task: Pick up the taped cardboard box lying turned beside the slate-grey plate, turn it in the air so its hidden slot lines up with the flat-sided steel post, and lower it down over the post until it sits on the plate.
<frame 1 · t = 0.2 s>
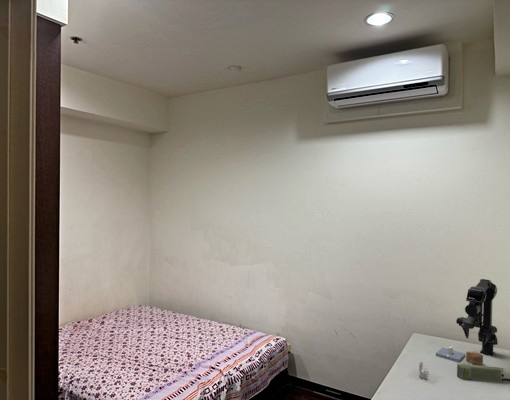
hand: (475, 341, 199), 13 cm above the table, tool pointing down, fingers open, 9 cm apart
taped cardboard box: (474, 362, 205), on the table
handheld radio: (485, 380, 184), on the table
hub plate: (450, 356, 213), on the table
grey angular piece: (431, 377, 187), on the table
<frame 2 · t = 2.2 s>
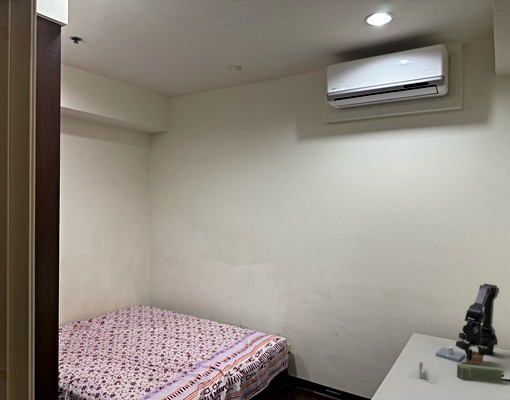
hand: (474, 360, 205), 1 cm above the table, tool pointing down, fingers closed on taped cardboard box, 6 cm apart
taped cardboard box: (474, 362, 205), on the table, touching gripper
everything else where it was.
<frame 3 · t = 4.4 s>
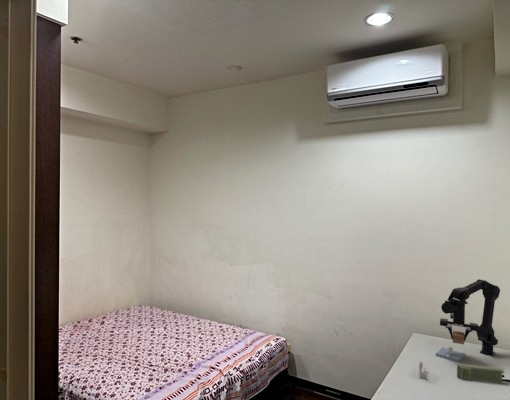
hand: (458, 340, 210), 10 cm above the table, tool pointing down, fingers closed on taped cardboard box, 6 cm apart
taped cardboard box: (458, 341, 210), point 9 cm above the table, touching gripper
everything else where it was.
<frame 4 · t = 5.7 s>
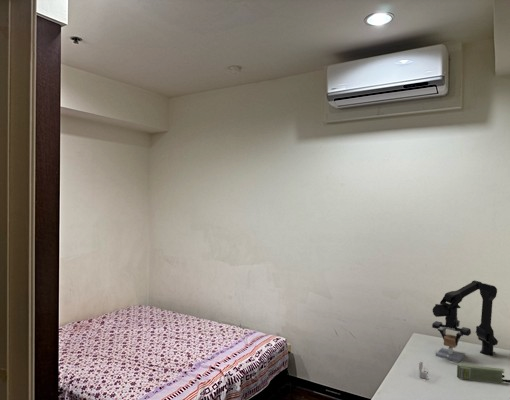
hand: (450, 343, 213), 7 cm above the table, tool pointing down, fingers closed on taped cardboard box, 6 cm apart
taped cardboard box: (450, 345, 213), point 6 cm above the table, touching gripper
everything else where it was.
when the fingers open (3 cm above the table, at t = 6.9 s): taped cardboard box stays where it is, resting on hub plate.
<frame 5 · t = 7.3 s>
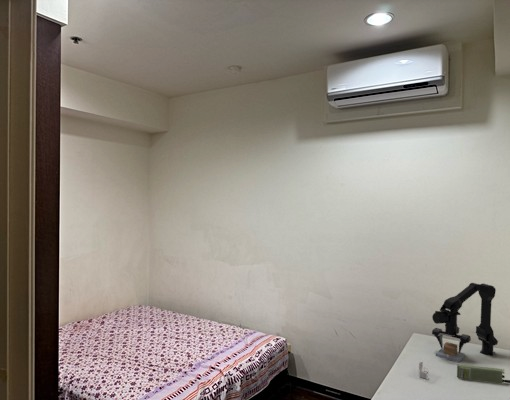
hand: (450, 350, 213), 3 cm above the table, tool pointing down, fingers open, 9 cm apart
taped cardboard box: (450, 353, 213), point 1 cm above the table, touching hub plate
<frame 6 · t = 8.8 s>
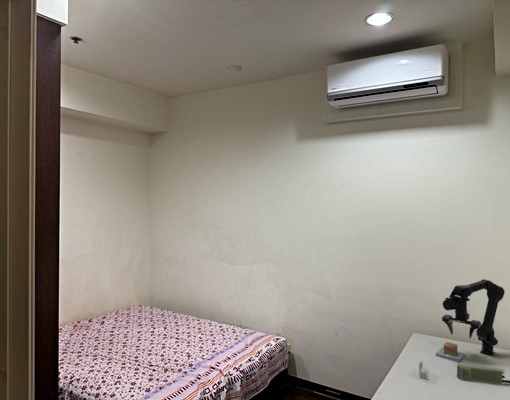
hand: (461, 336, 213), 11 cm above the table, tool pointing down, fingers open, 9 cm apart
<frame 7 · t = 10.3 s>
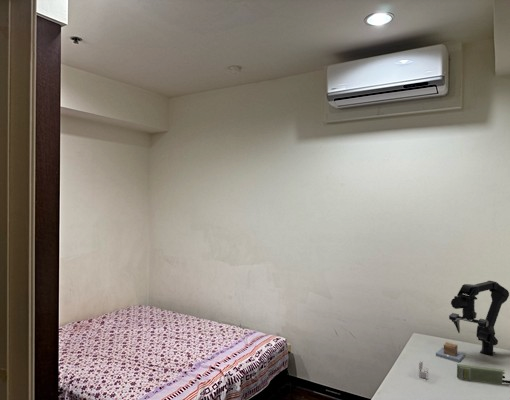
hand: (468, 335, 213), 12 cm above the table, tool pointing down, fingers open, 9 cm apart
at the end: taped cardboard box 0.0 cm off-centre on the hub plate, point 1.5 cm above the hub plate's base; taped cardboard box tilted 0°; the gripper is holding nothing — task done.
